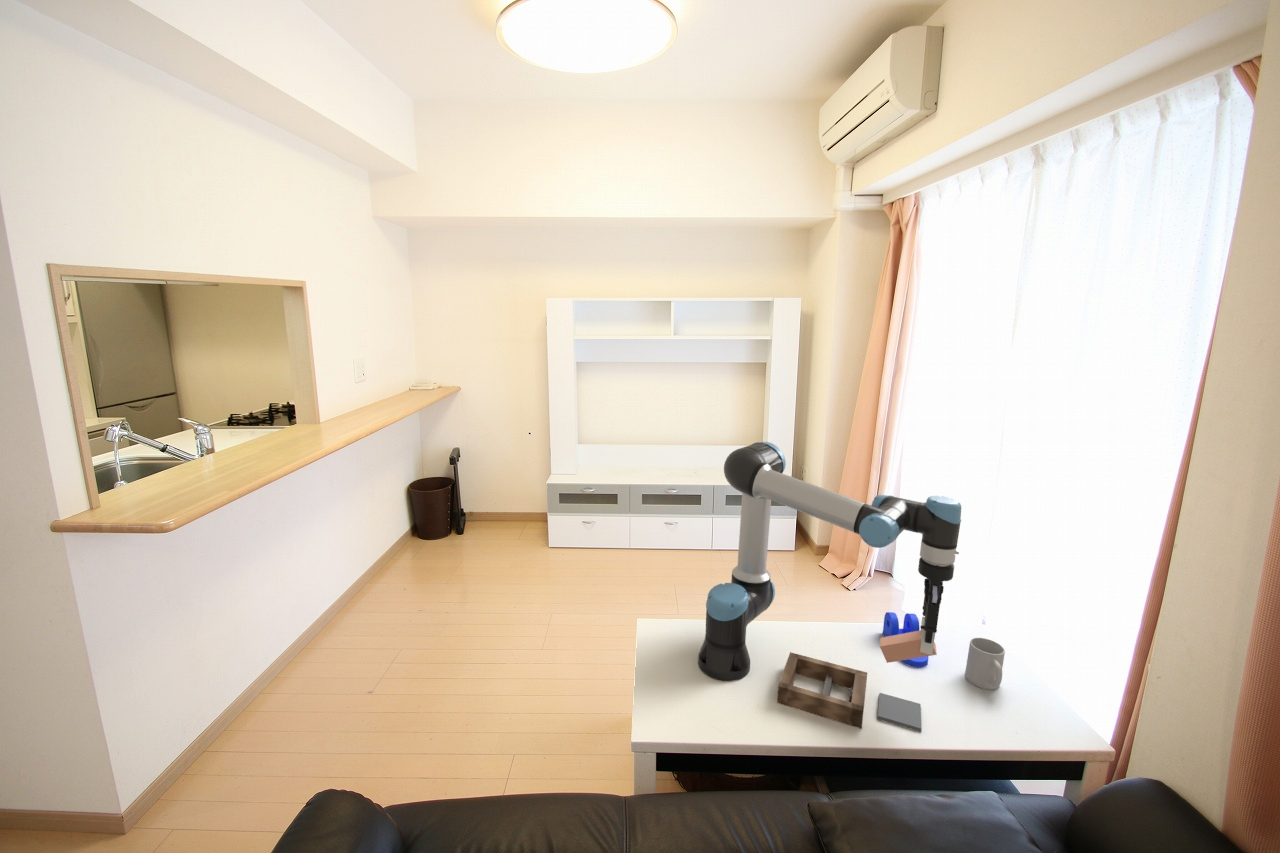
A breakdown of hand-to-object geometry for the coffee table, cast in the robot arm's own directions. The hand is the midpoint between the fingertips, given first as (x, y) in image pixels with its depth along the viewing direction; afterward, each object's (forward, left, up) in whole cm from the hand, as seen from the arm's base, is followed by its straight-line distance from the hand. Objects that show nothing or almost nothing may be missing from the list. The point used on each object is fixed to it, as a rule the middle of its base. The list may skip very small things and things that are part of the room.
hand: (925, 647), depth 137 cm
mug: (+18, +24, -20) cm, 36 cm away
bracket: (-2, +33, -21) cm, 39 cm away
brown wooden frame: (-23, -2, -20) cm, 30 cm away
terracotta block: (-3, 0, -3) cm, 4 cm away
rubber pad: (-4, 0, -20) cm, 21 cm away
